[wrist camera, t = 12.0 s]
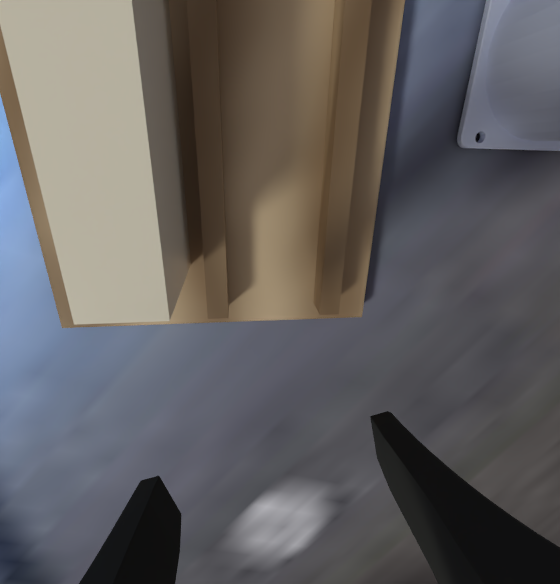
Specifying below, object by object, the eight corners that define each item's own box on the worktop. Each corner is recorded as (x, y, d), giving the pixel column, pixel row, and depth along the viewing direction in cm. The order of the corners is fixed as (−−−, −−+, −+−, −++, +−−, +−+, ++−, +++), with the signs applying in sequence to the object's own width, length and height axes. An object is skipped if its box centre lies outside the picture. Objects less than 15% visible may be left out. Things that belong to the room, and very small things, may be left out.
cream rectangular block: (164, -55, 12) (104, -227, 6) (191, 264, 17) (169, 321, 11) (74, -64, 12) (-69, -254, 6) (128, 265, 16) (74, 324, 11)
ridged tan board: (409, -108, 13) (446, -162, 11) (355, 309, 20) (371, 329, 18) (-51, -168, 11) (-125, -250, 9) (70, 318, 18) (46, 343, 16)
